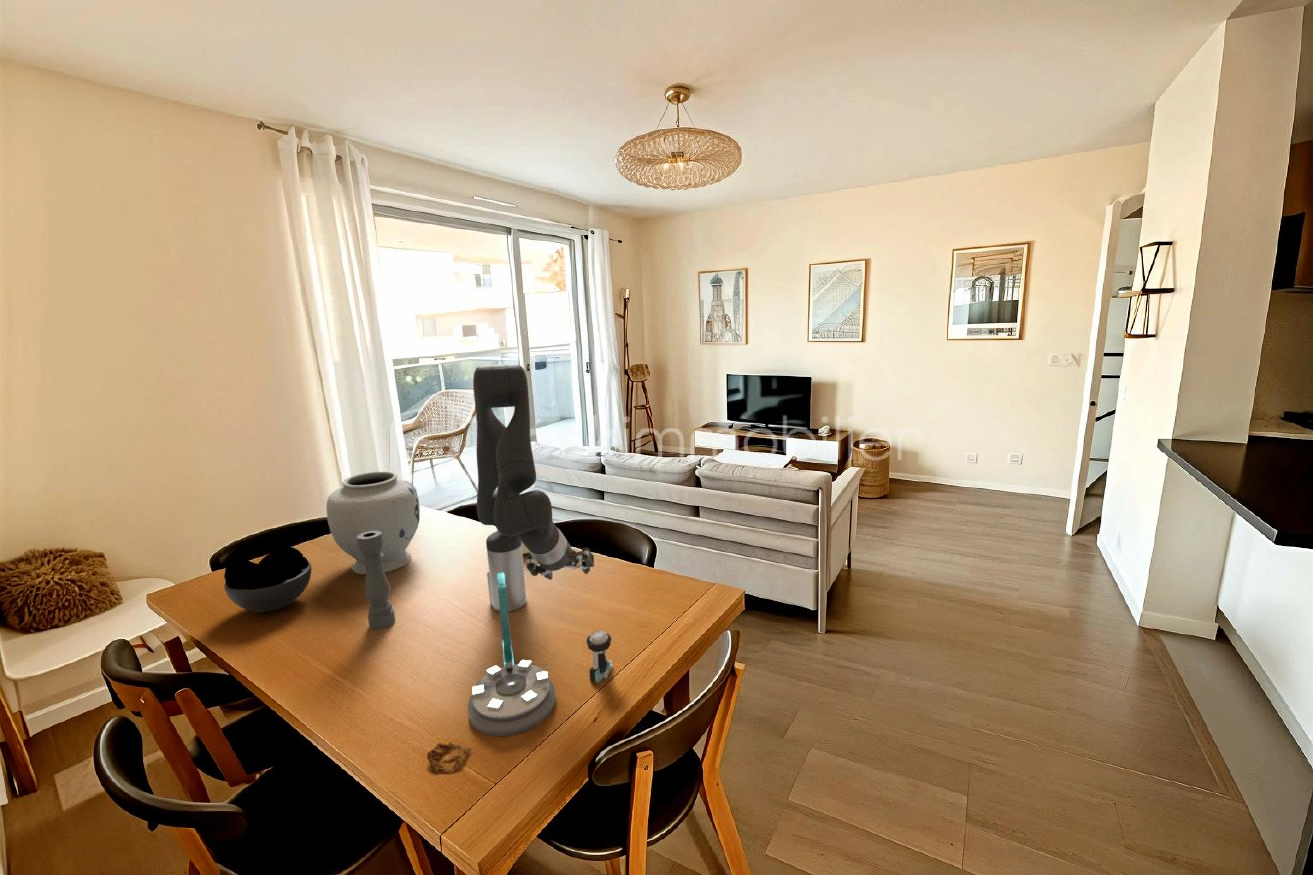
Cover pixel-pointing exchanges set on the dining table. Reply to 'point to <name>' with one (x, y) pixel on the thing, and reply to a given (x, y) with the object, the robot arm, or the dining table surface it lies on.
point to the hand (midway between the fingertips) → (568, 572)
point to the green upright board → (509, 679)
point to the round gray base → (515, 725)
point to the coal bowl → (267, 578)
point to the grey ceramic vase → (375, 516)
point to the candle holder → (376, 581)
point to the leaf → (442, 750)
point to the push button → (599, 655)
